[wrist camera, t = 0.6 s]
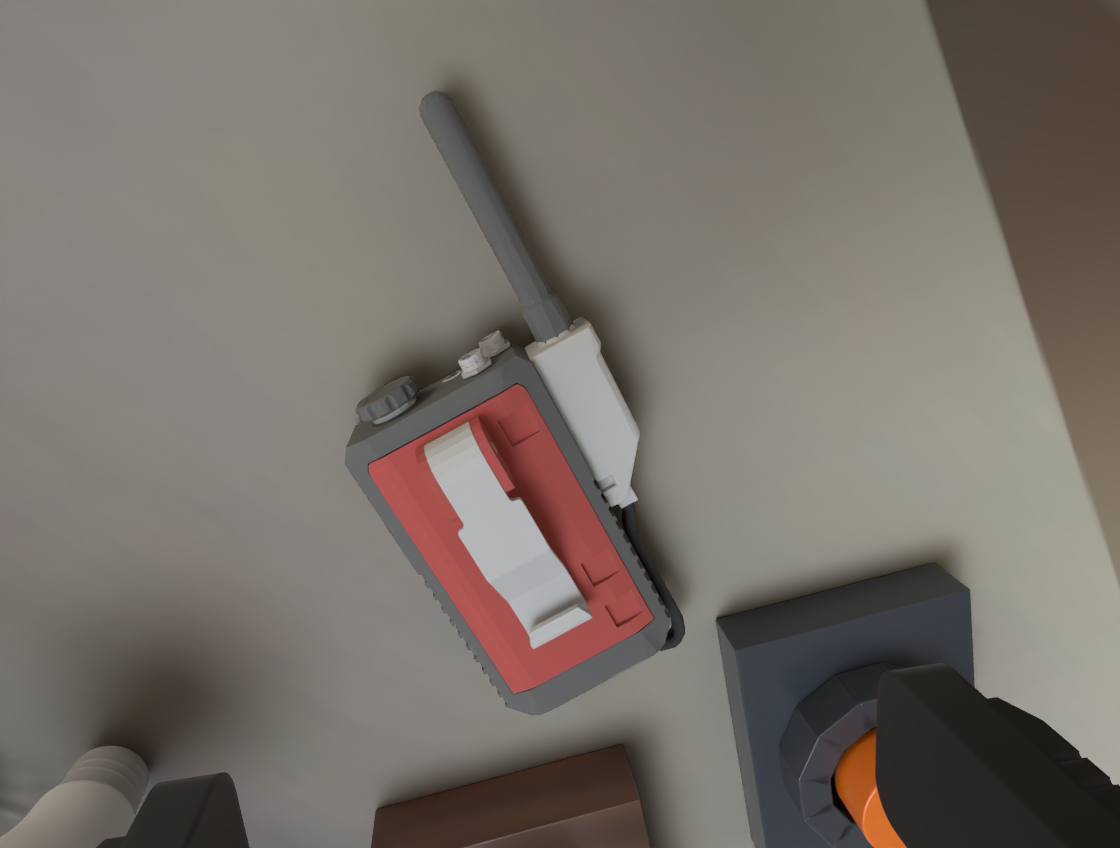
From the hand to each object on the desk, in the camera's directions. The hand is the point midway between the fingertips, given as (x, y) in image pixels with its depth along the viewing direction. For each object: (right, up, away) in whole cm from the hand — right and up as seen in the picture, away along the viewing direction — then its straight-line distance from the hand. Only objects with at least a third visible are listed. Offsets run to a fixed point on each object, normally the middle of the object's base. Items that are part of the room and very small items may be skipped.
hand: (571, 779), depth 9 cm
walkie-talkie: (-2, +4, +17) cm, 18 cm away
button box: (+11, -7, +22) cm, 26 cm away
